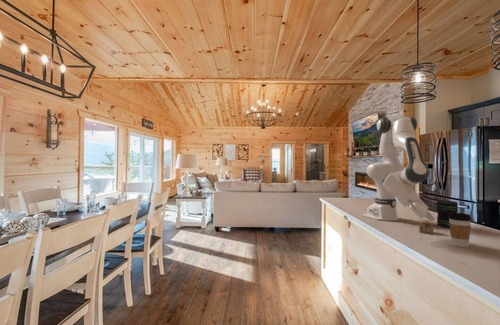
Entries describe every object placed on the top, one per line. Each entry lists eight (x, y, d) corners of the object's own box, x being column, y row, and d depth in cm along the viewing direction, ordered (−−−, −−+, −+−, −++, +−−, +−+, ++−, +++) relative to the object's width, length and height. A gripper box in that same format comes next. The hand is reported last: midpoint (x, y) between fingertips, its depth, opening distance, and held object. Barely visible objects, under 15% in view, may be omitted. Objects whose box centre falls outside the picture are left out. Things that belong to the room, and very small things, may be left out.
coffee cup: (454, 247, 109) (453, 214, 109) (444, 241, 117) (444, 211, 117) (476, 249, 106) (476, 215, 106) (465, 242, 114) (465, 211, 114)
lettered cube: (419, 232, 132) (419, 221, 132) (420, 230, 137) (419, 219, 137) (433, 234, 128) (432, 223, 128) (433, 231, 133) (432, 220, 133)
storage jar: (462, 229, 137) (462, 203, 137) (443, 228, 139) (443, 203, 139) (451, 224, 147) (450, 200, 147) (433, 224, 149) (433, 200, 149)
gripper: (413, 198, 115) (439, 221, 109) (416, 192, 131) (438, 212, 125) (402, 206, 117) (427, 229, 112) (406, 200, 134) (428, 219, 128)
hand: (433, 220), depth 118 cm, fingers closed
